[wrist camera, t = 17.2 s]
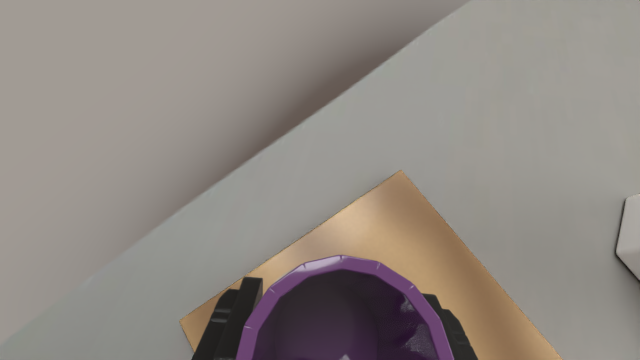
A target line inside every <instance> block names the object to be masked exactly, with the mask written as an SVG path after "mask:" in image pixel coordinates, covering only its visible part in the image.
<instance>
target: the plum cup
mask: <svg viewBox="0 0 640 360" xmlns="http://www.w3.org/2000/svg"><path fill="white" fill-rule="evenodd" d="M235 360H454V357H453V354H452V351H451V348H450V345H449V342H448V339H447V336H446V333H445V330H444V327H443V324H442V321H441V320H440V317H439V316H438V315H437V313H436V312H435V311H434V309H433V308H432V307H431V305H430V304H429V303H428V301H427V300H426V299H425V298H424V296H423V295H422V294H421V292H420V291H419V290H418V288H417V287H416V286H415V285H414V284H413V283H412V282H411V281H409V280H408V279H406V278H405V277H403V276H401V275H400V274H398V273H397V272H395V271H394V270H392V269H390V268H389V267H387V266H386V265H384V264H383V263H381V262H378V261H375V260H370V259H364V258H359V257H353V256H348V255H335V256H330V257H326V258H321V259H317V260H312V261H308V262H304V264H303V263H302V264H300V265H299V266H297V267H296V268H295V269H293V270H292V271H290V272H289V273H288V274H286V275H285V276H283V277H282V278H280V279H279V280H278V281H276V282H275V283H273V284H272V285H271V286H270V287H269V288H268V289H267V291H266V292H265V294H264V295H263V297H262V298H261V300H260V301H259V303H258V304H257V306H256V307H255V309H254V310H253V312H252V313H251V315H250V316H249V318H248V319H247V321H246V322H245V325H244V327H243V330H242V335H241V339H240V343H239V347H238V351H237V355H236V359H235Z"/></svg>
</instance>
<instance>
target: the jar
mask: <svg viewBox="0 0 640 360" xmlns="http://www.w3.org/2000/svg"><path fill="white" fill-rule="evenodd" d="M616 254H617V255H618V257H619V258H620V259H621V260H622V261H623V262H624V263H625V265H626V266H627V267H628V268H629V269H630V270H631V271H632V272H633V274H634V275H635V276H636V277H637V278H638V279H639V280H640V194H637V195H634V196H630V197H628V198H627V199H626V202H625V207H624V212H623V217H622V223H621V228H620V233H619V238H618V244H617V249H616Z"/></svg>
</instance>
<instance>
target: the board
mask: <svg viewBox="0 0 640 360" xmlns="http://www.w3.org/2000/svg"><path fill="white" fill-rule="evenodd" d="M335 255H348V256H353V257H359V258H364V259H370V260H375V261H378V262H381V263H383V264H384V265H386V266H387V267H389V268H390V269H392V270H394V271H395V272H397V273H398V274H400V275H401V276H403V277H405V278H406V279H408V280H409V281H411V282H412V283H413V284H414V285H415V286H416V287H417V288H418V290H419V291H420V292H421V293H426V294H435V295H436V296H437V298H438V300H439V303H440V305H441V307H442V309H449V310H450V311H451V312H452V313H453V314H454V316H455V317H456V318H457V319H458V320H459V321H460V323H461V325H462V327H463V329H464V331H465V335H466V336H467V337H468V339H469V341H470V343H471V344H470V345H471V346H472V347H473V349H474V352H475V354H476V356H477V358H478V360H563V359H562V358H561V357H560V356H559V354H558V353H557V352H556V351H555V350H554V349H553V347H552V346H551V345H550V344H549V343H548V341H547V340H546V339H545V338H544V337H543V336H542V334H541V333H540V332H539V331H538V330H537V329H536V327H535V326H534V325H533V324H532V323H531V322H530V320H529V319H528V318H527V317H526V316H525V314H524V313H523V312H522V311H521V310H520V309H519V307H518V306H517V305H516V304H515V303H514V302H513V300H512V299H511V298H510V297H509V296H508V295H507V293H506V292H505V291H504V290H503V289H502V288H501V286H500V285H499V284H498V283H497V282H496V280H495V279H494V278H493V277H492V276H491V275H490V273H489V272H488V271H487V270H486V269H485V268H484V266H483V265H482V264H481V263H480V262H479V261H478V259H477V258H476V257H475V256H474V255H473V253H472V252H471V251H470V250H469V249H468V248H467V246H466V245H465V244H464V243H463V242H462V241H461V239H460V238H459V237H458V236H457V235H456V234H455V232H454V231H453V230H452V229H451V228H450V227H449V225H448V224H447V223H446V222H445V221H444V219H443V218H442V217H441V216H440V215H439V214H438V212H437V211H436V210H435V209H434V208H433V207H432V205H431V204H430V203H429V202H428V201H427V200H426V198H425V197H424V196H423V195H422V194H421V192H420V191H419V190H418V189H417V188H416V187H415V185H414V184H413V183H412V182H411V181H410V180H409V178H408V177H407V176H406V175H405V174H404V173H403V171H402V170H400V171H398V172H397V173H395V174H394V175H392V176H391V177H389V178H388V179H387V180H385V181H384V182H382V183H381V184H379V185H378V186H376V187H375V188H373V189H372V190H370V191H369V192H367V193H366V194H364V195H363V196H362V197H360V198H359V199H357V200H356V201H354V202H353V203H351V204H350V205H348V206H347V207H345V208H344V209H342V210H341V211H339V212H338V213H337V214H335V215H334V216H332V217H331V218H329V219H328V220H326V221H325V222H323V223H322V224H320V225H319V226H317V227H316V228H314V229H313V230H312V231H310V232H309V233H307V234H306V235H304V236H303V237H301V238H300V239H298V240H297V241H295V242H294V243H292V244H291V245H289V246H288V247H287V248H285V249H284V250H282V251H281V252H279V253H278V254H276V255H275V256H273V257H272V258H270V259H269V260H267V261H266V262H264V263H263V264H262V265H260V266H259V267H257V268H256V269H254V270H253V271H251V272H250V273H248V274H247V275H245V276H247V277H258V278H263V295H264V294H265V292H266V291H267V289H268V288H269V287H270V286H271V285H272V284H273V283H275V282H276V281H278V280H279V279H280V278H282V277H283V276H285V275H286V274H288V273H289V272H290V271H292V270H293V269H295V268H296V267H297V266H299V265H300V264H302V263H303V264H304V262H308V261H312V260H317V259H321V258H326V257H330V256H335ZM243 278H244V277H242V278H241V279H239V280H238V281H237V282H235V283H234V284H232V285H231V286H229V287H228V288H226V289H225V290H223V291H222V292H220V293H219V294H217V295H216V296H214V297H213V298H212V299H210V300H209V301H207V302H206V303H204V304H203V305H201V306H200V307H198V308H197V309H195V310H194V311H192V312H191V313H189V314H188V315H187V316H185V317H184V318H182V319H181V320H180V321H179V322H180V324H181V326H182V328H183V330H184V333H185V335H186V337H187V339H188V341H189V343H190V345H191V347H192V349H193V351H194V353H195V351H196V349H197V346H198V344H199V342H200V340H201V337H202V335H203V333H204V331H205V328H206V326H207V324H208V322H209V320H210V317H211V315H212V313H213V312H214V308H215V306H216V304H217V302H218V299H219V298H220V297H221V296H222V295H223V294H224V293H225V292H226V291H227V290H228V289H238V290H239V288H240V285H241V283H242V280H243Z"/></svg>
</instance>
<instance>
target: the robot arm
mask: <svg viewBox="0 0 640 360" xmlns="http://www.w3.org/2000/svg"><path fill="white" fill-rule="evenodd" d="M421 294H422V295H423V296H424V298H425V299H426V300H427V301H428V303H429V304H430V305H431V307H432V308H433V309H434V311H435V312H436V313H437V315H438V316H439V317H440V320H441V321H442V324H443V327H444V330H445V333H446V336H447V339H448V342H449V345H450V348H451V351H452V354H453V357H454V360H478V358H477V356H476V354H475V352H474V349H473V347H472V346H471V345H470V344H471V343H470V341H469V339H468V337H467V336H466V335H465V331H464V329H463V327H462V325H461V323H460V321H459V320H458V319H457V318H456V317H455V316H454V314H453V313H452V312H451V311H450V310H449V309H442V307H441V305H440V303H439V300H438V298H437V296H436V295H435V294H426V293H421ZM262 297H263V278H258V277H247V276H244V278H243V280H242V283H241V285H240V288H239V290H238V289H228V290H227V291H226V292H225V293H224V294H223V295H222V296H221V297H220V298H219V299H218V302H217V304H216V306H215V308H214V312H213V313H212V315H211V317H210V320H209V322H208V324H207V326H206V328H205V331H204V333H203V335H202V337H201V340H200V342H199V344H198V346H197V349H196V351H195V353H194V355H193V357H192V359H191V360H235V359H236V355H237V351H238V347H239V343H240V339H241V335H242V330H243V327H244V325H245V322H246V321H247V319H248V318H249V316H250V315H251V313H252V312H253V310H254V309H255V307H256V306H257V304H258V303H259V301H260V300H261V298H262Z"/></svg>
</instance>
